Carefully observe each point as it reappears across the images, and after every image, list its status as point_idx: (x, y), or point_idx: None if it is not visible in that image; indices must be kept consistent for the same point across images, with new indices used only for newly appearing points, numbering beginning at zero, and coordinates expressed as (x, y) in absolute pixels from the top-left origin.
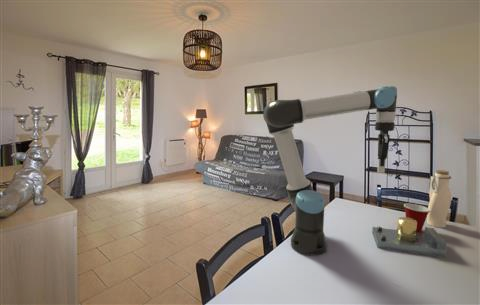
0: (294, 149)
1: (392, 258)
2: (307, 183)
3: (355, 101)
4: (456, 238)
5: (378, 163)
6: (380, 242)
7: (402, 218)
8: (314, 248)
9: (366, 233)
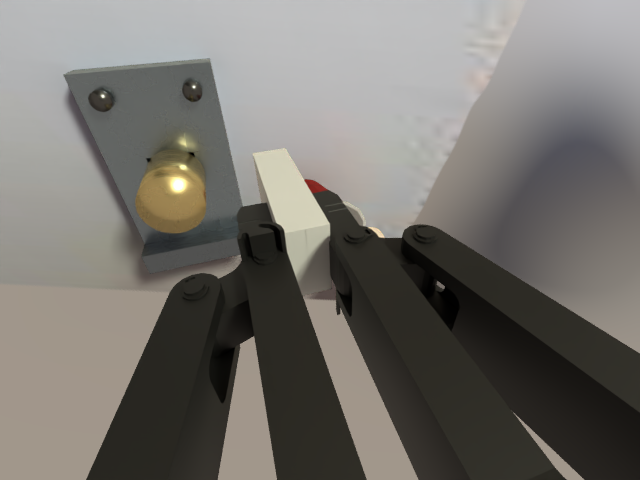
0: None
1: (18, 120)
2: None
3: None
4: None
5: (281, 195)
6: (70, 85)
7: (182, 191)
8: None
9: (189, 31)
